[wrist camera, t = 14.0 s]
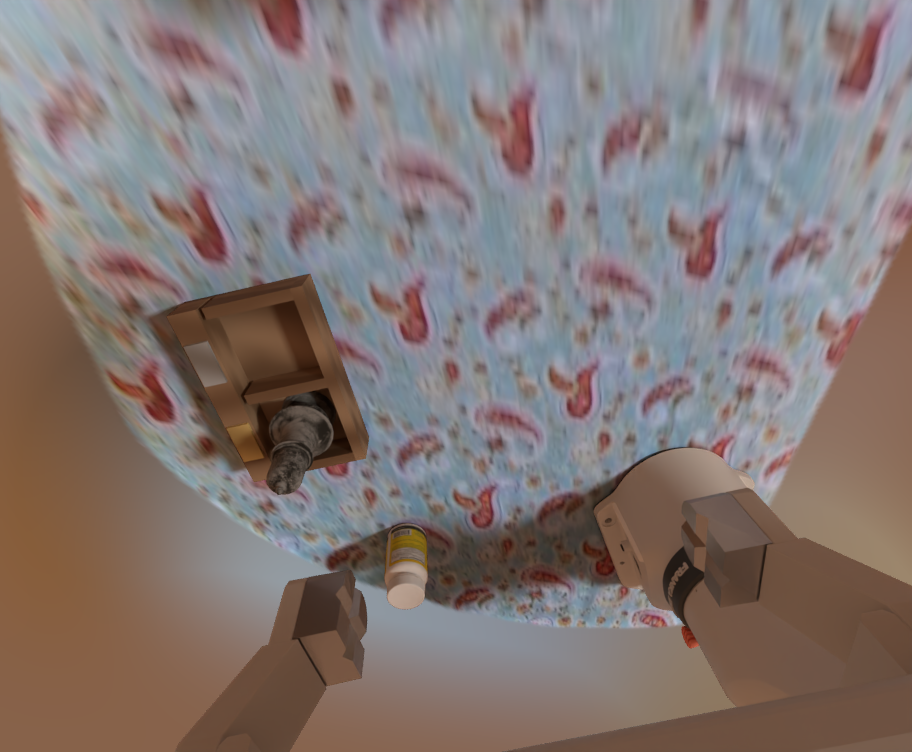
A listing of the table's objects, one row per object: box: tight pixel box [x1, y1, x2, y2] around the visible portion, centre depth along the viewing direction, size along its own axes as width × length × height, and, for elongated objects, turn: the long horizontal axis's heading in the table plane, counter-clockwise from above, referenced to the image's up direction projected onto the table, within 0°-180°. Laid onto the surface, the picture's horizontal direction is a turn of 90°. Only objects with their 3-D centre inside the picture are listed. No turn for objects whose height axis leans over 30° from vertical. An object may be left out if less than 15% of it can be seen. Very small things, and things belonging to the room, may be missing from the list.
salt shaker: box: [266, 391, 336, 495], centre depth 43 cm, size 6×6×12 cm
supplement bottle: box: [384, 523, 428, 609], centre depth 54 cm, size 5×5×8 cm
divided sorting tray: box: [166, 274, 369, 482], centre depth 45 cm, size 18×12×4 cm, turn 12°
